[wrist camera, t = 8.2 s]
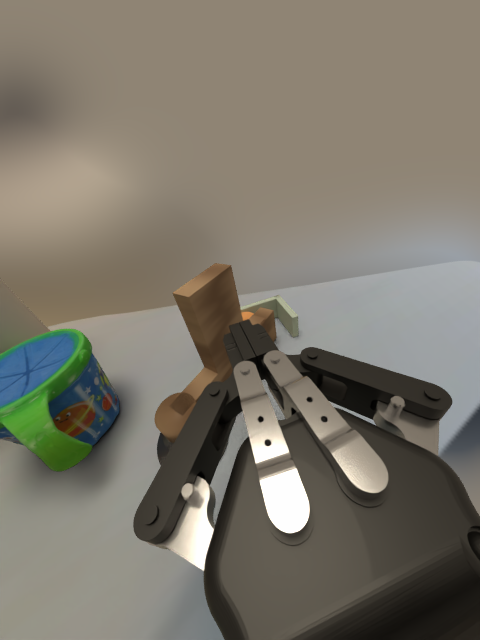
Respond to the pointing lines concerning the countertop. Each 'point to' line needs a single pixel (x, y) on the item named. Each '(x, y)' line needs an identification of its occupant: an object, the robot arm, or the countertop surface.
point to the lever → (207, 339)
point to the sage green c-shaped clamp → (277, 312)
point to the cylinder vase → (16, 320)
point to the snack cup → (55, 397)
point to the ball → (246, 315)
